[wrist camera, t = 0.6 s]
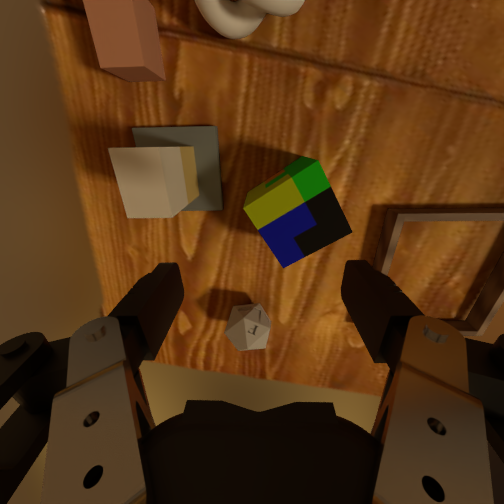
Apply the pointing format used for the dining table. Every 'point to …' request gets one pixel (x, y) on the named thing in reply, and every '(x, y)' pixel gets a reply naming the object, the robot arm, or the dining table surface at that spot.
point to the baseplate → (205, 158)
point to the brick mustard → (190, 172)
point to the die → (248, 327)
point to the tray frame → (500, 281)
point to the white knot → (243, 14)
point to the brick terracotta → (126, 38)
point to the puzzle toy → (296, 211)
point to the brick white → (150, 181)
